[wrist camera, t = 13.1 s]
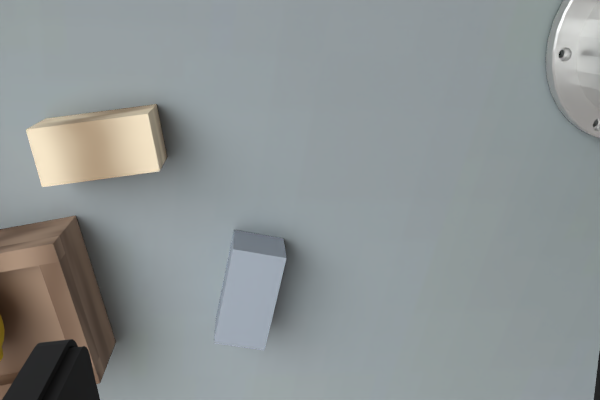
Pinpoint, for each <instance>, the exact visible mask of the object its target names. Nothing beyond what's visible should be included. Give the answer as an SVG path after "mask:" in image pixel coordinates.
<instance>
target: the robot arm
mask: <svg viewBox="0 0 600 400" xmlns="http://www.w3.org/2000/svg"><path fill="white" fill-rule="evenodd" d="M559 51H561V55H560V56H558V55H559ZM546 71H547V79H548V83H549V87H550V91H551V94H552V96H553V98H554V100H555V102H556V104H557V106H558V108H559V110H560V111H561V112H562V113H563V114H564V116H565V117H566V118H567V119H568V120H569V121H570V122H571V123H572V124H573V125H575V126H576V127H577V128H579V129H580V130H581V131H583V132H586V133H588V134H590V135H592V136H594V137H597V138H600V0H564V1H563V2H562V4H561V6H560V8H559V10H558V12H557V15H556V17H555V19H554V21H553V24H552V28H551V31H550V35H549V38H548V44H547V52H546ZM593 123H594V124H593ZM2 400H100V398H99V394H98V389H97V385H96V380H95V376H94V372H93V367H92V363H91V358H90V354H89V351H88V349H87V347H85V346H82V347H78V345H77V343H76V342H75V340H73V339H69V340H60V341H51V342H41V343H38V344H37V345H36V346H35V347H34V349H33V350H32V352H31V354H30V355H29V357H28V359H27V360H26V362H25V363H24V365H23V367H22V368H21V370H20V371H19V373H18V375H17V376H16V378H15V380H14V381H13V383H12V384H11V386H10V388H9V389H8V391H7V392H6V394H5V396H4V397H3V399H2ZM594 400H600V353H599V361H598V369H597V378H596V386H595V394H594Z"/></svg>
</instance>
